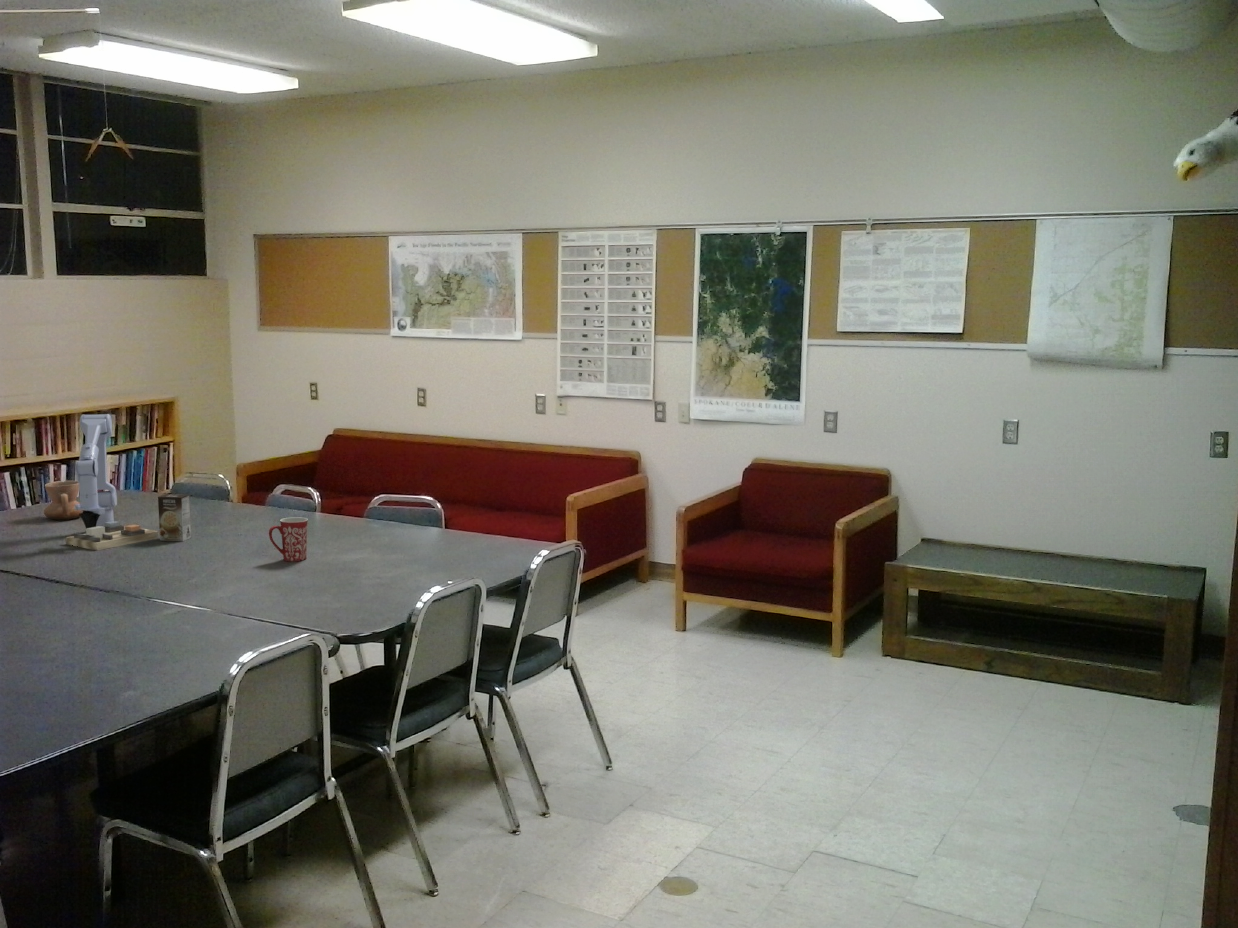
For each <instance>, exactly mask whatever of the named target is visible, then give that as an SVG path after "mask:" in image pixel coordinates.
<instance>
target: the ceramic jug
mask: <svg viewBox="0 0 1238 928" xmlns="http://www.w3.org/2000/svg"><path fill="white" fill-rule="evenodd" d="M44 488H45V491H46V493H47V495H48V498H49V499H50V500H51V503H50V504H49V505H48V506H47V507H45V508H44V511H43V514H44V516H45V517H47V518H48V519H50V520H55V521H66V520H74V519H77V518H79V517H80V516H79V513H83V511H80V510H75V505H77V504H80V501H77V496H78V494H79V482H78V481H77V480H64V481H62V480H57V481H52V482H47V483H46V484H45V485H44ZM80 518H81V517H80Z"/></svg>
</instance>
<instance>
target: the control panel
mask: <svg viewBox="0 0 1238 928" xmlns="http://www.w3.org/2000/svg"><path fill="white" fill-rule="evenodd" d="M125 526H126V525H121V524H120V526H117V527H112V528H109V527H105V526H102V527H105V533H103V539H100V538H99V537H94V536H89V535H87V532H85V533H78V532H77V533H76V532H74V533H73V535H72V536H71V535H70V536H67V537H65V545H68V546H72V545H73V547H77V546H78V548H83V549H87V550H94V551H102V550H106V549H111V548H116V547H121V546H125V545H126V546H127V545H130V544H135V543H136V544H137V543H140V542H145V541H150V540H155V539H159V531H158V530H154V529H147V528H143V527H140V530H137V531H126V530H125Z"/></svg>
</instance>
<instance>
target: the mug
mask: <svg viewBox="0 0 1238 928" xmlns="http://www.w3.org/2000/svg"><path fill="white" fill-rule="evenodd" d="M308 521H309V518H307V517H301V516H299V517H297V516H293V517H285V518H284V517H283V518H281V519H280V520H279V522H280V525H273V526H271V527H270V528H269V529H268V537H269V539H270V542H271V544H272V545H273V546H274V547H275V548H276V549H277V550H278V551H279V553H280V554H282V557H283V560H284V561H286V562H301V561H300V560H302V561H305V560H307V554H308V553H307V550H308V549H307V548H308V546H307V545H308ZM275 529H277V530H278V531H279V533H280V534H281V542H282V543H281V544H282V548H280V547H279V546H278V545H277V543H276V542H275V540H274V539H273V534H272V533H273V531H274V530H275ZM304 559H305V560H304Z"/></svg>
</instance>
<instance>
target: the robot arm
mask: <svg viewBox="0 0 1238 928" xmlns="http://www.w3.org/2000/svg"><path fill="white" fill-rule="evenodd" d="M112 422H113V421H112V416H111V414H110V413H107V414H106V413H105V414H81V415H80V417H79V426H80V427H79V428H80V430H81V431H82V433H83V435H84V436H85V438H84V439H85V441H84V444H83V445H82V446H81V448H80V452H79V458H78V461H76V462H75V466H74V467H75V468H74V469H75V474H76V481H78V482H79V491H78V494H79V503H80V504H77V505H75V510H80V511H83V513H79V516H80V519H81V520H82V522H83V524H84V526H85V529H86V528H91V527H97V526H105V525H104V523H105V522H110V521H115V519H114V508H115V507H117V505H118V493H117V489H116V486H115V485H113V484H112V483H110V482H109V481H108V465H107V464H108V463H107V462H108V461H107V458H108V457H107V440H108V438H109V437H112V433H113V423H112ZM85 533H86V530H85Z"/></svg>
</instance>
